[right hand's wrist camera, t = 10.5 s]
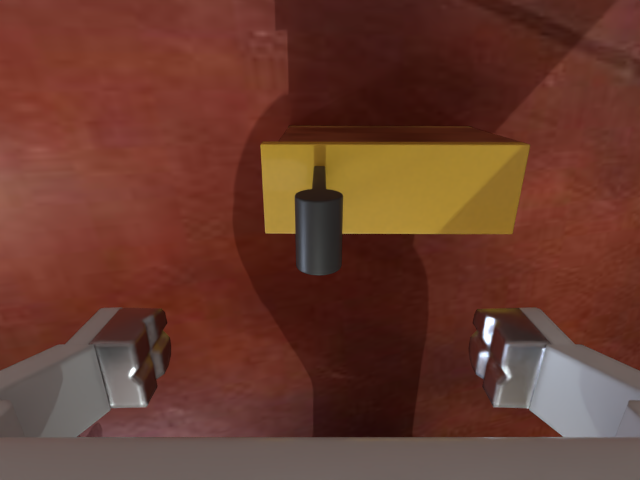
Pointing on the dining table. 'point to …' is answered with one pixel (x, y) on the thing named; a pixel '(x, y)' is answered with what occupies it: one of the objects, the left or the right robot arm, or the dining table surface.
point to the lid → (387, 191)
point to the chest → (389, 134)
